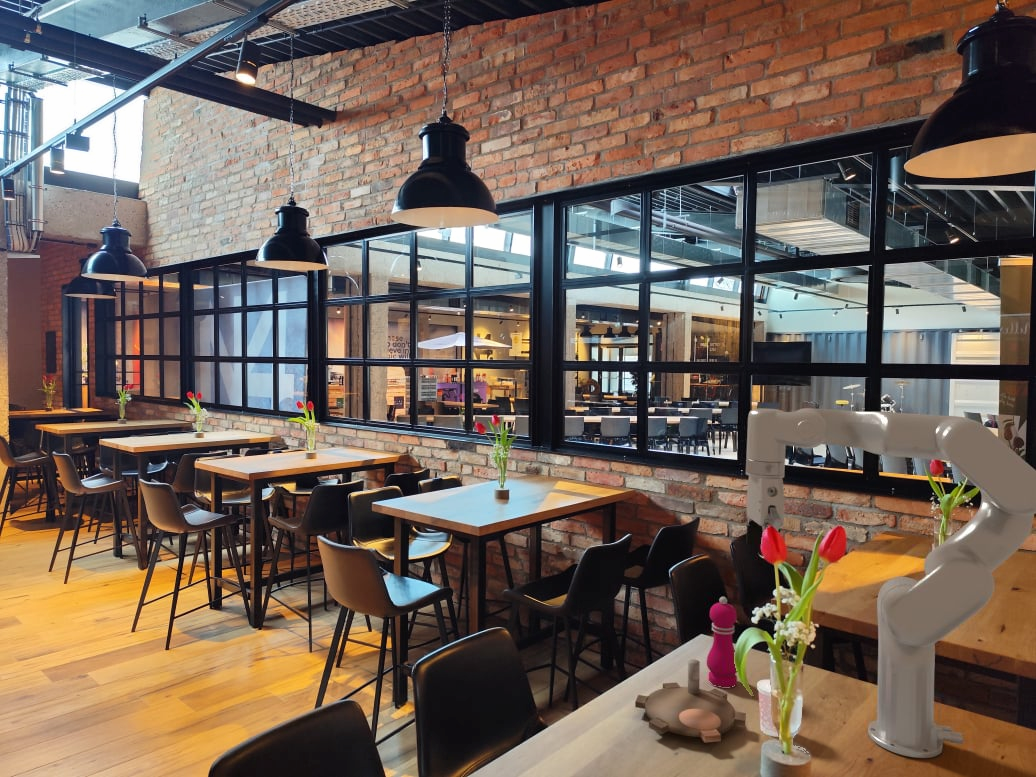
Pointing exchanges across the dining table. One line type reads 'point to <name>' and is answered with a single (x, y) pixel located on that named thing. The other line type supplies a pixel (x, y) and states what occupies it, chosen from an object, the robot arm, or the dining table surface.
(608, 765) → the dining table surface
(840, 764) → the dining table surface
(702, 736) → the sprocket
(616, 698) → the dining table surface
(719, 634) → the pepper mill
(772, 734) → the beverage cup
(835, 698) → the dining table surface
